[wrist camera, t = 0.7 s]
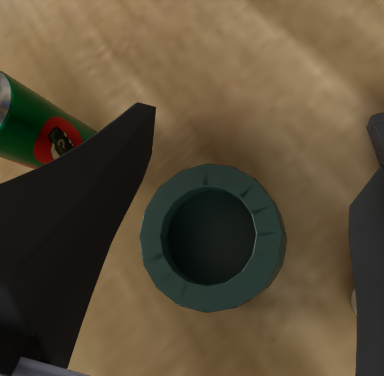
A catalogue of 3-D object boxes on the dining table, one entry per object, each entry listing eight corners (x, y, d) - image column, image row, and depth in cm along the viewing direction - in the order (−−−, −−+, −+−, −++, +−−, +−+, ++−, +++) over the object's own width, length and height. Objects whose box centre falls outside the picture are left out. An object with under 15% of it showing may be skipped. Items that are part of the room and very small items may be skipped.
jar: (300, 291, 24) (298, 297, 20) (178, 312, 27) (151, 322, 22) (269, 168, 27) (260, 147, 22) (159, 197, 29) (131, 184, 24)
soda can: (105, 123, 32) (-3, 47, 21) (112, 175, 31) (0, 124, 20) (58, 139, 33) (-68, 75, 22) (62, 190, 32) (-69, 150, 21)
